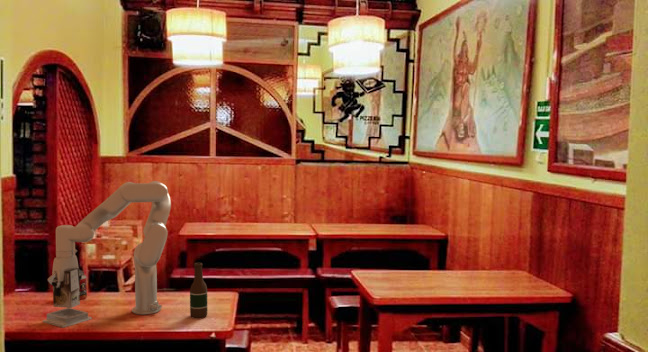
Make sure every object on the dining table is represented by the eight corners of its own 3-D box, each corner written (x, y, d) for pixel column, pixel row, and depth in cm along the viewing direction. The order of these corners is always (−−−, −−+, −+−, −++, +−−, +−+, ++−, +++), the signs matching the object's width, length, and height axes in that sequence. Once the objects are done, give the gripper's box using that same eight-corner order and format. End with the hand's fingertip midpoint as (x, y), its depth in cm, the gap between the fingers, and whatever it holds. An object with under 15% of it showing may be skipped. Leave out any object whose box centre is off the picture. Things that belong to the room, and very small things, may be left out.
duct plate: (91, 318, 255) (91, 311, 255) (63, 327, 244) (62, 320, 243) (71, 313, 263) (71, 306, 263) (42, 322, 251) (42, 314, 251)
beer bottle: (211, 314, 262) (210, 262, 261) (202, 319, 255) (201, 265, 253) (196, 312, 265) (195, 260, 263) (186, 317, 258) (185, 264, 256)
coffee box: (80, 304, 255) (80, 267, 254) (71, 308, 249) (70, 271, 248) (62, 302, 257) (61, 266, 256) (52, 306, 250) (51, 269, 249)
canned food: (76, 301, 282) (76, 279, 281) (66, 299, 286) (65, 277, 285) (90, 298, 288) (89, 276, 288) (80, 295, 293) (79, 274, 292)
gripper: (78, 249, 261) (78, 288, 262) (41, 256, 246) (42, 297, 247) (88, 251, 257) (89, 290, 258) (52, 258, 242) (53, 299, 243)
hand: (66, 293), depth 252 cm, fingers closed on coffee box, 8 cm apart
